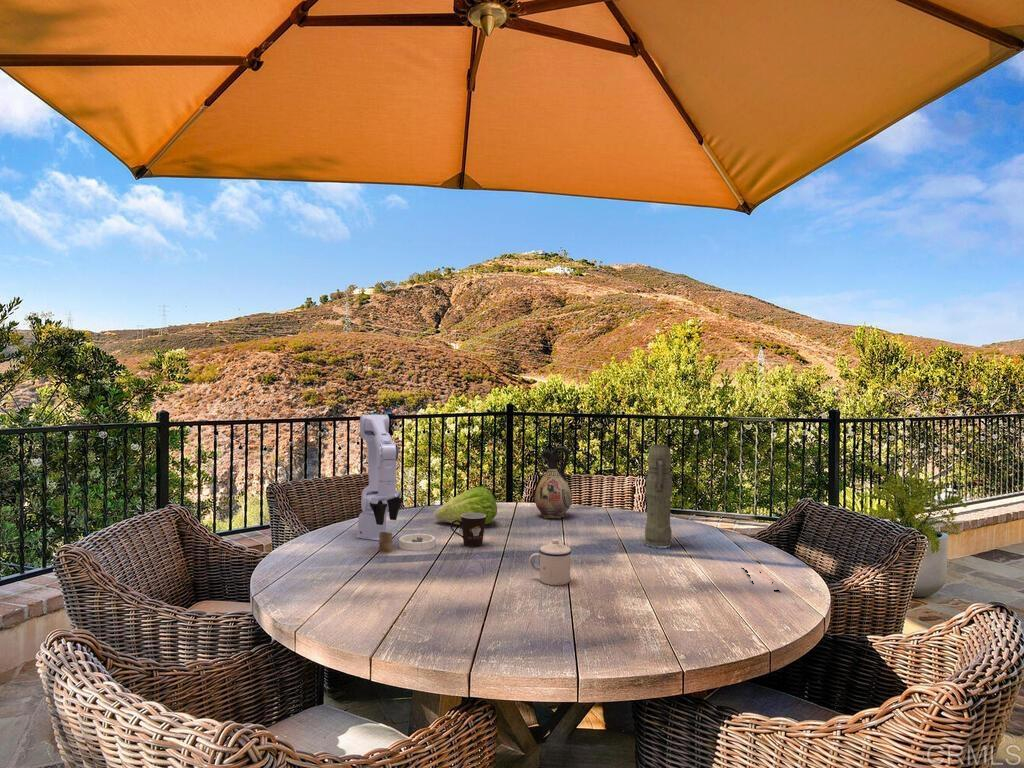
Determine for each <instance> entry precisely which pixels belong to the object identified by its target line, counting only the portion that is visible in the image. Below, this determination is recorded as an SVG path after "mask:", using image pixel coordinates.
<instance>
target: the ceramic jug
mask: <svg viewBox="0 0 1024 768" xmlns="http://www.w3.org/2000/svg"><path fill="white" fill-rule="evenodd" d="M558 452H562V453H563V454H564V460H563V463H562V465H561V468H559V466H558V463H560V462H561V461H562V458H561V457H560V456H559V454H557V453H558ZM538 457H539V458H541V459H544V460H545V461H547V462H548V468H547V469H546V471H545V472H544V474H543V475H542V477H541V478H540V480H539V482H538V484H537V486H536V489H535V493H534V503H535V506H536V508H537V510H538V511H539V512H540V514H541V517H542V516H543V517H546V518H545V519H547V518H559V519H562V518H561V517H563V518H565V517H564V516H566V515H565V514H566V513H567V512H568V510H569V509H570V508H571V505H572V500H573V499H572V491H571V488H570V485H569V482H567V481H568V480H567V476H566V473H565V471H566V468H567V464H568V461H569V459H570V454H569V450H568V448H567V447H565V446H562V445H561V446H556V447H554V448H553V450H552V452H551V451H550V449H549V448H546V450H544V451H543V452H542V453H540V455H539V456H538ZM543 517H542V518H543Z"/></svg>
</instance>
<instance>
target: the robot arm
mask: <svg viewBox="0 0 1024 768" xmlns="http://www.w3.org/2000/svg"><path fill="white" fill-rule="evenodd" d="M389 428H390V417H389V415H388V414H387V413H385V414H364V413H363V414H361V415H360V418H359V434H360V438H361V439H362V440H363V441H365V443H366V452H367V469H368V471H367V472H368V485H367V486H366V487H364V488H363V489H362V491H361V499H360V500H361V501H360V505H361V506H360V507H361V511H362V512H360V513H359V515H358V519H357V535H356V536H355V537H356V538H358V539H364V540H371V541H379V533H380V532H387V514H388V517H389V520H391V521H396V520H397V518H398V514H399V510H400V507H401V505H402V504H403V502H404V498H403V497H402V490H397V461H398V460H399V445H398V443H396V442H393V440H392V439H393V438H392V436H391V434H390V433H389V432H388V431H389Z"/></svg>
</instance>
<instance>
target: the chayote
mask: <svg viewBox="0 0 1024 768" xmlns="http://www.w3.org/2000/svg"><path fill="white" fill-rule="evenodd" d="M466 513H481V514H485V515H486V520H485V525H487V524H490V523H492V522H493V520H494V519H495V517H496V516H497V514H498V505H497V502H496V498H495V496H494V494H493V493H492V492H491V491H490V489H488V488H486V487H483V486H475V487H473V488H471V489H466V490H465V491H463V492H461V493H460V494H458V495H456V496H454V497H452V498H450V499H449V500H447V501H446V502H445V503H444V504H442V505H441V506H440V507H438V508H437V509H435V511H434V517H435V519H436V520H437V521H438V522H446V523H449V524H451V523H452V522H453V521H455V520H459V521H461V515H462V514H466ZM453 525H456V526H461V524H460V523H459V522H455V523H453Z"/></svg>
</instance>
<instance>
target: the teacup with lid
mask: <svg viewBox="0 0 1024 768" xmlns="http://www.w3.org/2000/svg"><path fill="white" fill-rule="evenodd" d="M538 551H539V553H538V552H535V553H532V554H531V555H530V557H529V558H528V564H529V566H530V568H531V569H532V570H533V571H536V572H539V580H540V582H542V583H543V584H545V585H549V586H563V585H566V584H569V582H570V581H571V555H572V554H571V553H572V550H571V548H570V547H569V546H567V545H565V544H563V543H561V542H560V540H559V539H558V538H553V539H552V540H551V542H548V543H547V544H544V545H541V546H540V547H539V550H538ZM534 557H539V567H536V566H535V565H534V564H533V561H532V559H533V558H534Z"/></svg>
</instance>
